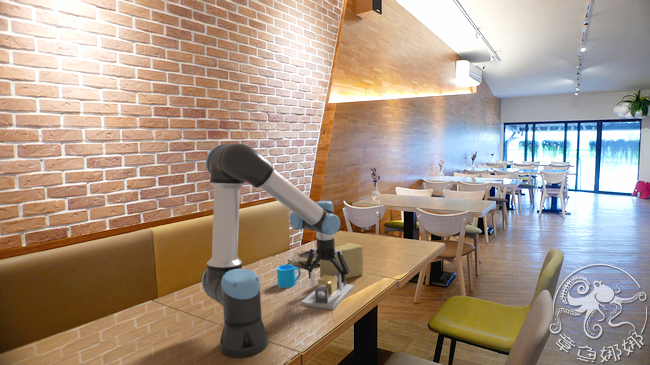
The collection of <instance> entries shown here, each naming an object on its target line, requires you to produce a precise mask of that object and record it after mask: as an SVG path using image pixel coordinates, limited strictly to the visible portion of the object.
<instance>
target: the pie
mask: <svg viewBox="0 0 650 365" xmlns="http://www.w3.org/2000/svg"><path fill="white" fill-rule="evenodd" d="M309 255H310V249H308V250H301V251H296V252H295V253H293V254H292V255H291V257H290V258H288V260H289V264H288V265H293V266H298V267H299V266H300V267H301V266H302V267H303V266H304V267H305V265H306V262H307V260H308V257H309ZM317 257H318V254H317V253H315V254H314V257H313V259H312V262H311V264H310V267H311V265H312V264H313V263H314V261H315V260H316V258H317ZM316 266H317V267H320V261H319V262H318V263H317V265H316Z"/></svg>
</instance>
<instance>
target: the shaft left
mask: <svg viewBox="0 0 650 365" xmlns="http://www.w3.org/2000/svg"><path fill="white" fill-rule="evenodd" d="M314 291H315V301H316V303H328V287H326V286H325V285H320V286H319V287H318V286H316V287H315V290H314Z"/></svg>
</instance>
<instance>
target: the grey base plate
mask: <svg viewBox="0 0 650 365" xmlns="http://www.w3.org/2000/svg"><path fill="white" fill-rule="evenodd" d="M354 289H355V284H349V283H346V286H344V289H343V290H342V291H340V287H337V291H336V292H335V293H333V294H332V295H328V303H316V301H315V290H313V291H312V292H311V293H310V294H308V295H307V296H306V297H305V298H304V299H303V300H301V302H300V305H301V306H307V307H313V308H320V309H325V310H332V311H334V310H335V309H336V308H337V307H338V305H340V303H342V302H343V301H344V300H345V298H346V297H347V296H348V295H349V294H350V293H351V292H352V291H353V290H354Z"/></svg>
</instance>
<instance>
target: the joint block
mask: <svg viewBox="0 0 650 365" xmlns="http://www.w3.org/2000/svg"><path fill="white" fill-rule="evenodd" d="M317 284H318V286H317V287H319V286H320V285H325V286H326V287H328V295H332V294H333V293H335V292H336V291H337V276H330V275H323V276H322V277H321V278H320V277H319V278H318V280H317Z"/></svg>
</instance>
